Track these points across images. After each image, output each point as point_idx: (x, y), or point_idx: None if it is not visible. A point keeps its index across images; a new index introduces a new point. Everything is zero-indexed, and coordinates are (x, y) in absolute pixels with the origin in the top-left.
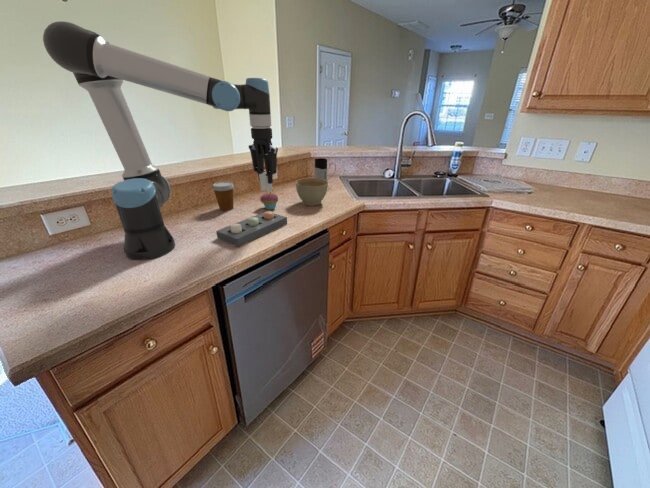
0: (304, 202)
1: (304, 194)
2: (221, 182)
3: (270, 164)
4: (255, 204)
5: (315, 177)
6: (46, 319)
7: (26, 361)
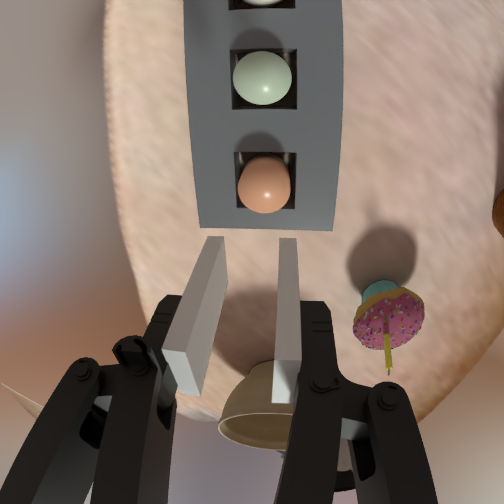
0: None
1: (269, 386)
2: None
3: (43, 456)
4: (444, 289)
5: None
6: None
7: None
